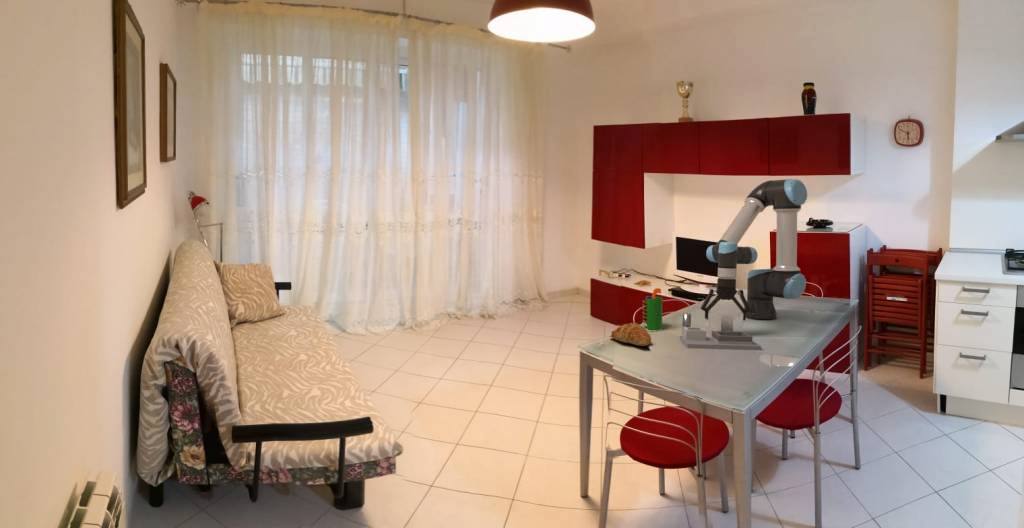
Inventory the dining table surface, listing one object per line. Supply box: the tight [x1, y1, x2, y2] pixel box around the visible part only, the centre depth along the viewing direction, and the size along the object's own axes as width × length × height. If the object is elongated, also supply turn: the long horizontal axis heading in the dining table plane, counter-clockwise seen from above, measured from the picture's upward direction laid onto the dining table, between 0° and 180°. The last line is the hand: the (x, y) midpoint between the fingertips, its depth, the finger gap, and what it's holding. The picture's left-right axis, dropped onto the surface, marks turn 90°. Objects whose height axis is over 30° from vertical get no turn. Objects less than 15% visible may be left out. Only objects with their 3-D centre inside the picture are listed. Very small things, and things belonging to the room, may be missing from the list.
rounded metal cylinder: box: [681, 312, 692, 335], centre depth 270 cm, size 4×4×10 cm
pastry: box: [609, 322, 652, 347], centre depth 257 cm, size 21×13×8 cm, turn 39°
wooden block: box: [716, 313, 734, 332], centre depth 267 cm, size 5×6×10 cm
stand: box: [679, 326, 762, 351], centre depth 253 cm, size 28×18×6 cm, turn 84°
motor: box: [642, 287, 663, 331], centre depth 280 cm, size 10×9×20 cm
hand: (724, 327), depth 267 cm, fingers open, 13 cm apart
